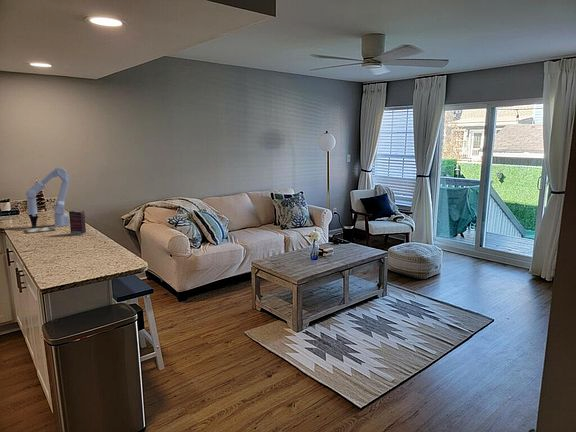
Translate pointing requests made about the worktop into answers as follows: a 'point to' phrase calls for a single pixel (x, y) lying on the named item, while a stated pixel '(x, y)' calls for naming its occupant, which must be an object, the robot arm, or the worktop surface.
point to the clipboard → (39, 230)
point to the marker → (33, 225)
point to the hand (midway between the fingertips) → (34, 224)
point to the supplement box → (77, 222)
